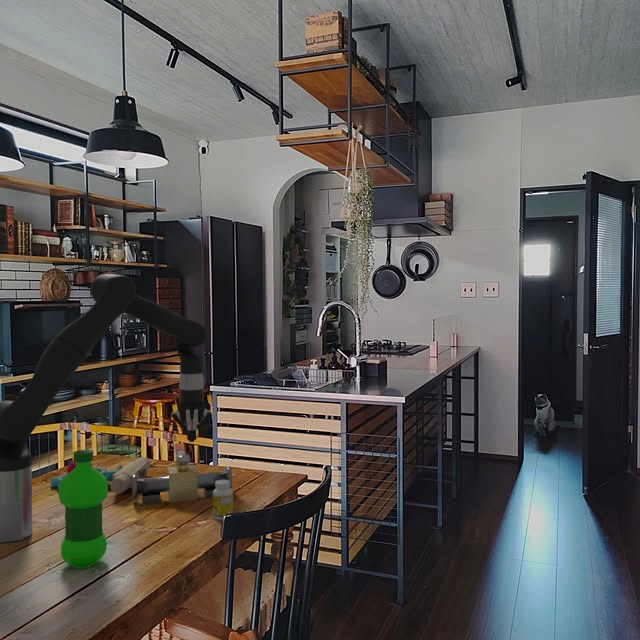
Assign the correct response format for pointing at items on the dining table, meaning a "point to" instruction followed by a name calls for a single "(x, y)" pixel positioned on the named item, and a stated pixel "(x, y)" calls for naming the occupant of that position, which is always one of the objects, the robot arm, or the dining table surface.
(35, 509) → the dining table surface
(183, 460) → the valve lever
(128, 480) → the butterfly valve
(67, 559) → the plastic bottle
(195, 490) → the pipe valve
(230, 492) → the supplement bottle
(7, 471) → the robot arm
